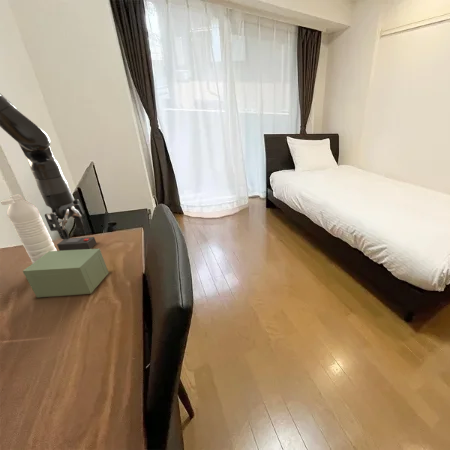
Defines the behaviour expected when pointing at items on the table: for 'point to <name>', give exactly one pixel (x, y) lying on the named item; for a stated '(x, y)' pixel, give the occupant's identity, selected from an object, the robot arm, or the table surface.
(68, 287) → the stand
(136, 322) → the table surface
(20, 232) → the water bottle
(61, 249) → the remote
